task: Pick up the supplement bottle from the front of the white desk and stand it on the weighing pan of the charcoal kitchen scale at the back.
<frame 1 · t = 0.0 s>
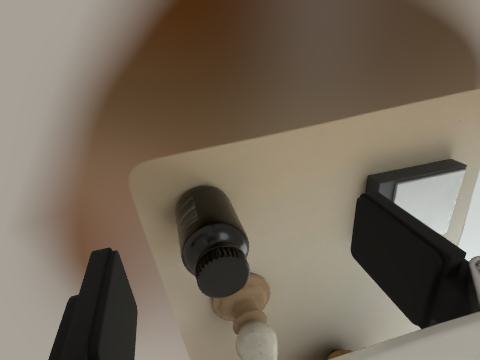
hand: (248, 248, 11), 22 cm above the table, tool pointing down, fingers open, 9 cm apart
scale: (403, 202, 44), on the table
bowl: (333, 352, 58), on the table
supplement bottle: (203, 207, 36), on the table
candle holder: (240, 293, 44), on the table
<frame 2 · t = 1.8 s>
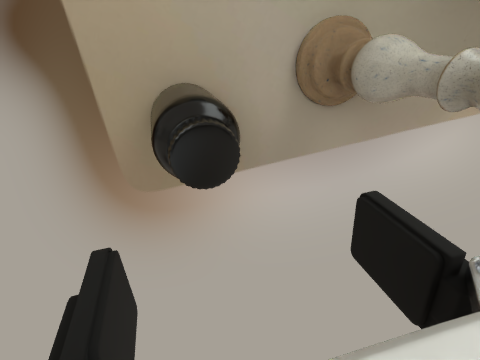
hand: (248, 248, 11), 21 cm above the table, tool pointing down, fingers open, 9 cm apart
supplement bottle: (185, 116, 30), on the table
candle holder: (331, 62, 31), on the table
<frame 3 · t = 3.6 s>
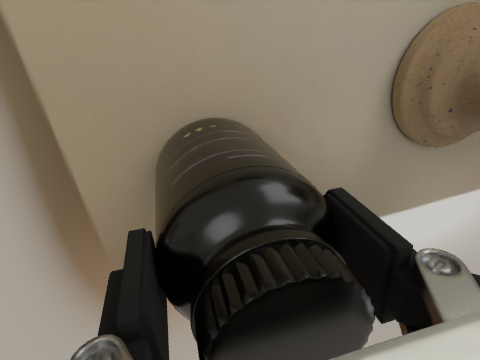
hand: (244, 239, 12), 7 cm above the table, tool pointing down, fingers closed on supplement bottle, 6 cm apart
supplement bottle: (212, 168, 18), on the table, touching gripper
candle holder: (444, 79, 20), on the table
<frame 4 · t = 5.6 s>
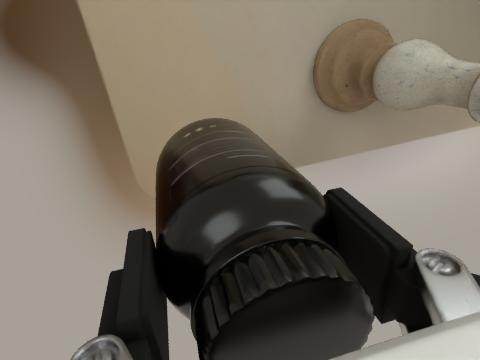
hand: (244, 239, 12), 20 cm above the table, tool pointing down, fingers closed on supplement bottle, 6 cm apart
supplement bottle: (212, 168, 18), point 12 cm above the table, touching gripper
candle holder: (350, 67, 30), on the table
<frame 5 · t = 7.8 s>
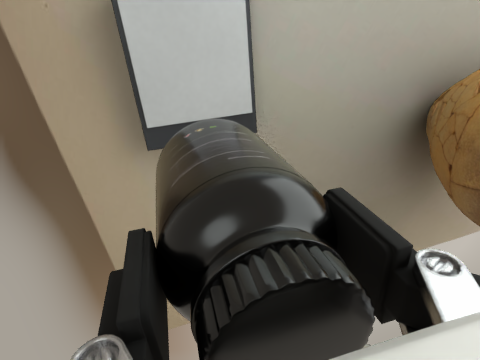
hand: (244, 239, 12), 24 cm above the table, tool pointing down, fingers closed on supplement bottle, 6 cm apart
scale: (191, 71, 31), on the table
bowl: (434, 111, 41), on the table
supplement bottle: (212, 168, 18), point 16 cm above the table, touching gripper
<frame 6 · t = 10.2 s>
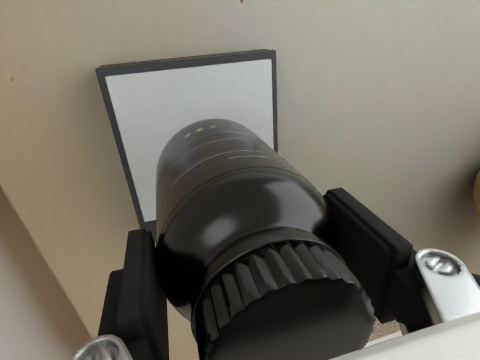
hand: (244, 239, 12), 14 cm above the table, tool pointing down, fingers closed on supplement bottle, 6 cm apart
scale: (200, 146, 25), on the table
supplement bottle: (212, 168, 18), point 7 cm above the table, touching gripper
when the fingers open (10 cm above the table, at t = 11.8 s): supplement bottle stays where it is, resting on scale.
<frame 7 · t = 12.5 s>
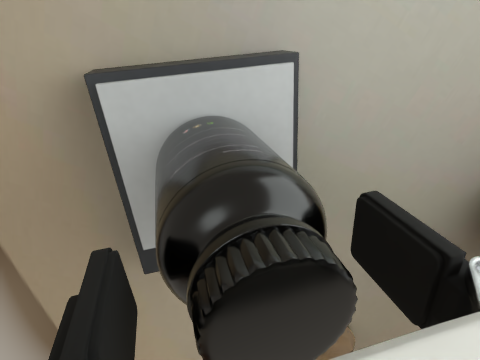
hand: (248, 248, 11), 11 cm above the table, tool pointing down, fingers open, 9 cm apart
scale: (207, 161, 21), on the table
supplement bottle: (210, 164, 19), point 3 cm above the table, touching scale
candle holder: (317, 344, 36), on the table
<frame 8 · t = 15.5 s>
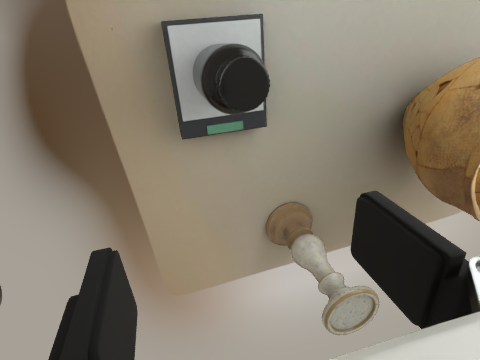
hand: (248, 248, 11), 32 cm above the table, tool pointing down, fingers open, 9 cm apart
scale: (216, 77, 39), on the table
bowl: (411, 110, 50), on the table
supplement bottle: (218, 72, 36), point 3 cm above the table, touching scale
candle holder: (287, 222, 53), on the table
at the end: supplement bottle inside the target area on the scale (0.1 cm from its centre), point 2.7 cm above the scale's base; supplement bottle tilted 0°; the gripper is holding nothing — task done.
